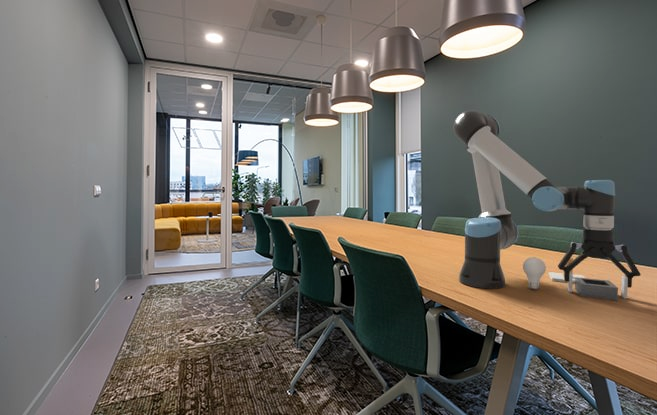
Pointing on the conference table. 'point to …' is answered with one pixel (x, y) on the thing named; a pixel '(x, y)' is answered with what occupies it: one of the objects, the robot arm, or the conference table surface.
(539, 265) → the light bulb
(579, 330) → the conference table surface
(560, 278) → the keeper
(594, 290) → the grey square frame
